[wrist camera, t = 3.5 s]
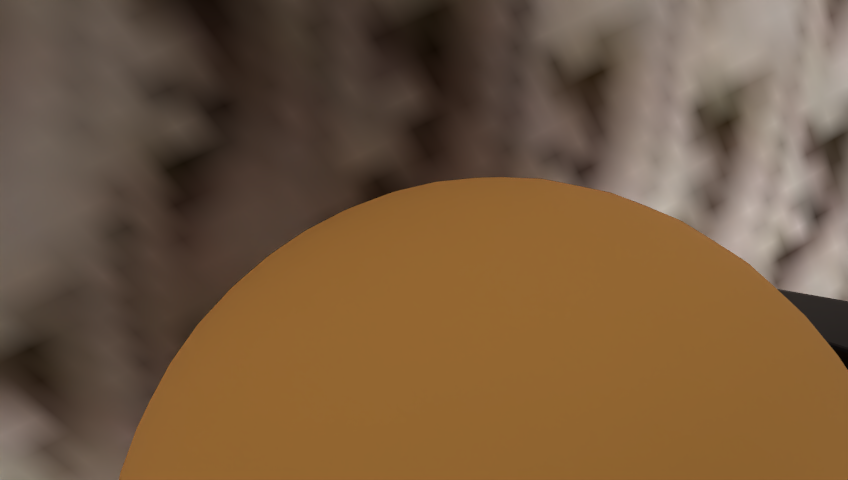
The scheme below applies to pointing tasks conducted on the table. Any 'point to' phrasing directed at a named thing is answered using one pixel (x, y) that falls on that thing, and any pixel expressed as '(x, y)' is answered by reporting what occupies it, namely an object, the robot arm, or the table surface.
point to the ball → (499, 352)
